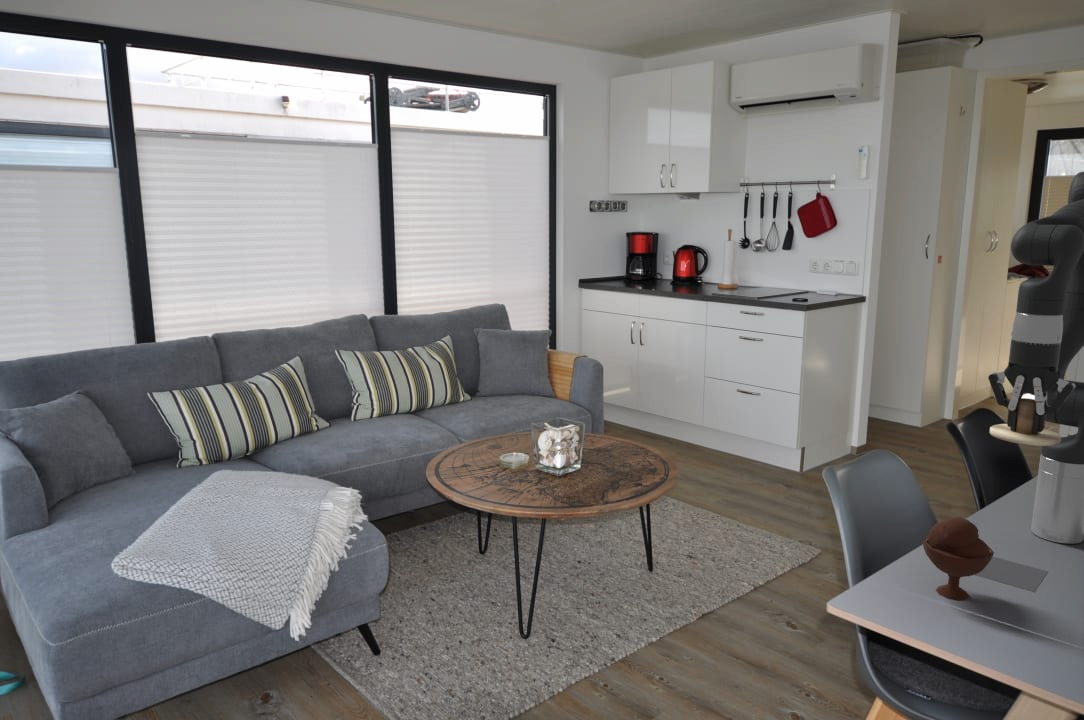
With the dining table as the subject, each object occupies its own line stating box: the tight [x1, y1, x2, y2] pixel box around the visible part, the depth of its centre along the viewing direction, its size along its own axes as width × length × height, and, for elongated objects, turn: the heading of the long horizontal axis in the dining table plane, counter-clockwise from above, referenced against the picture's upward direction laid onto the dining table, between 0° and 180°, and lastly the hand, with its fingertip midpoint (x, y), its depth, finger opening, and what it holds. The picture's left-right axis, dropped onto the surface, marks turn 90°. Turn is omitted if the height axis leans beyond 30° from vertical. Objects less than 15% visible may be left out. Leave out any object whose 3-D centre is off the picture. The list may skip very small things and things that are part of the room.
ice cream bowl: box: [922, 516, 995, 602], centre depth 135 cm, size 11×11×15 cm
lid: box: [989, 397, 1062, 447], centre depth 139 cm, size 11×11×7 cm
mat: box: [974, 555, 1049, 593], centre depth 145 cm, size 11×11×1 cm
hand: (1024, 431), depth 139 cm, fingers closed on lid, 3 cm apart
